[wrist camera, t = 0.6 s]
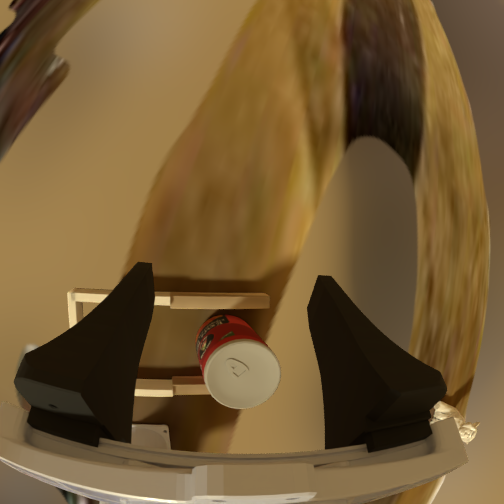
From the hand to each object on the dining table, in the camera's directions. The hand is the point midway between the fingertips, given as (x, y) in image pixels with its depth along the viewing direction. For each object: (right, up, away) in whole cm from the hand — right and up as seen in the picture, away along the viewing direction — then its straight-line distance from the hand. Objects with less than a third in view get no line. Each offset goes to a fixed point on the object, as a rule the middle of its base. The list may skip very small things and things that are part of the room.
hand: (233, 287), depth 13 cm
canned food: (-3, -10, +26) cm, 28 cm away
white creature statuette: (+43, -36, +40) cm, 69 cm away
